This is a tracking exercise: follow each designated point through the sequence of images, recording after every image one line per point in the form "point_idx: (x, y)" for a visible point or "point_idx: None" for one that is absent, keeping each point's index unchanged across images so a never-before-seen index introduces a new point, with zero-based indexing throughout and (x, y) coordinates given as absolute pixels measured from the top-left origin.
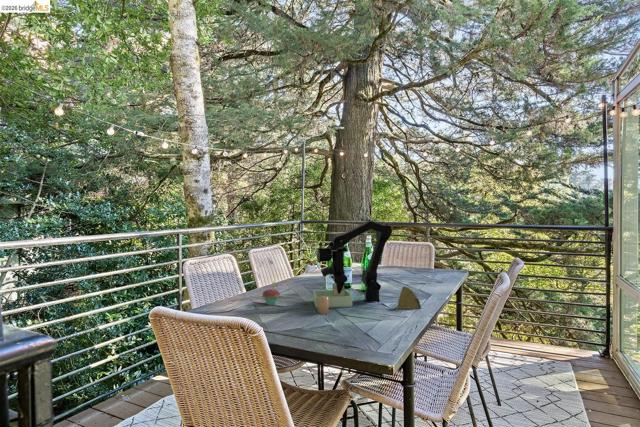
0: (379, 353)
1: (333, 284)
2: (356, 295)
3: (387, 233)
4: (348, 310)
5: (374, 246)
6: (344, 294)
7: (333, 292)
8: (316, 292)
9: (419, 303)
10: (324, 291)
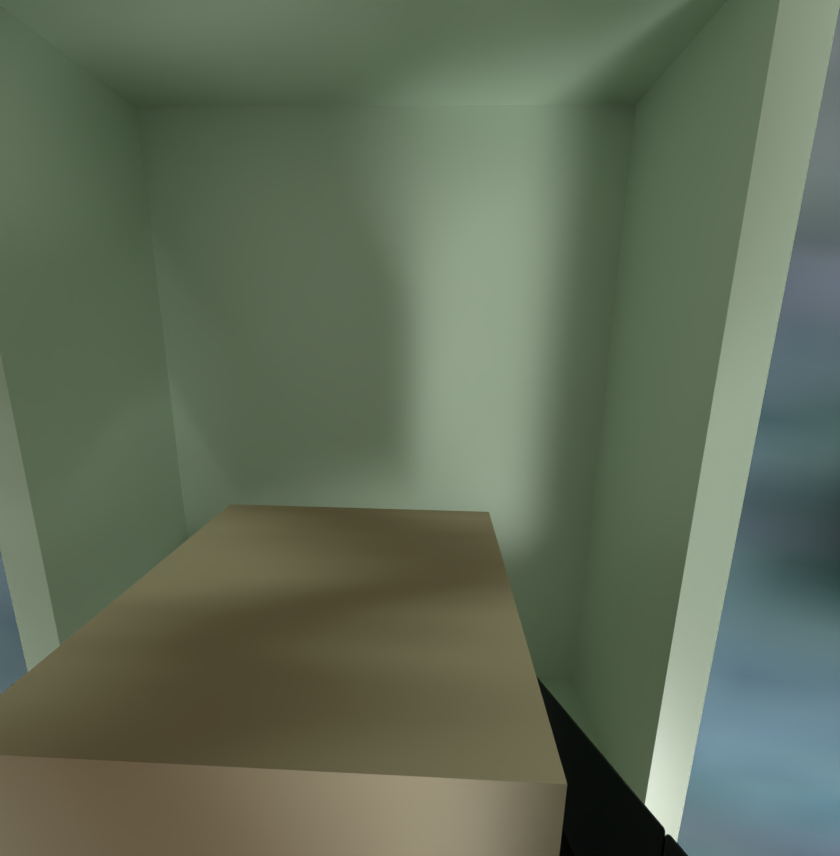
0: None
1: (221, 781)
2: (792, 843)
3: None
4: (4, 589)
5: None
6: (604, 724)
7: (295, 535)
8: (745, 33)
9: None
10: (715, 313)
